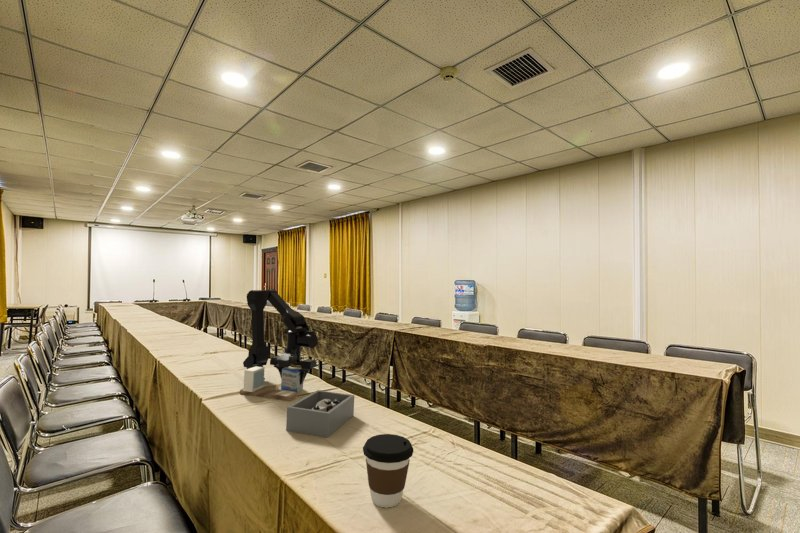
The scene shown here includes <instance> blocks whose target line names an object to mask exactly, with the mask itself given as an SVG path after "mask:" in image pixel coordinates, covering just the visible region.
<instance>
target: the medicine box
mask: <svg viewBox="0 0 800 533" xmlns="http://www.w3.org/2000/svg"><path fill="white" fill-rule="evenodd" d="M301 368H302V367H294V366H293V367H292V366H289V367H285V368H283V369H282V379H281V378H280V380H281V382H280V390H284V391H291V392H301V391H302V390H304V382H303V383H302V384H301V385H300V373H301V372H300V370H299V369H301Z"/></svg>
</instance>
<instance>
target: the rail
mask: <svg viewBox="0 0 800 533" xmlns="http://www.w3.org/2000/svg"><path fill="white" fill-rule="evenodd" d="M243 390H244V387H243V388H242V389H239V394H240V395H247V396H252V397H260V398H266V399H272V400H281V401H285V402H286V401H287V402H290V401H292V400H294V399H296V398H297V397H299V393H298V392H299V391H298V392H296V391H288V390H282V389H274V388H269V387H263V388H261V389H258V390H256V391H254V392H248V391H243Z"/></svg>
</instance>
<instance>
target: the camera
mask: <svg viewBox="0 0 800 533" xmlns="http://www.w3.org/2000/svg"><path fill="white" fill-rule="evenodd" d="M342 401H343V400H342V399H335V400H333V402H331V400H329V399H323V400H321V401H319V402H317V404H316V406H314V407H313V408H312V409H311V410H318V411H324V412H328V411H329V410H331V409H332V408H334V407H335V406H336V405H338V404H339V403H341V402H342Z"/></svg>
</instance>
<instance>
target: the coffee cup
mask: <svg viewBox="0 0 800 533" xmlns="http://www.w3.org/2000/svg"><path fill="white" fill-rule="evenodd" d="M362 452H363V455H364V457H366V458H365V463H366V465H365V466H366V471H367V472H366V473H367V481H368V482H367V483H368V486H369V493H370V498H371V502H372V503H373V504H374V505H375V504H376V505H377V506H376V505H375V506H376V507H379V506H380V507H379V508H382V507H385V508H384V509H389V508H388V507H392V508H394V507H393V506H395V507H397V506H398V505H399V504H400V502H401V501H402V498H403V493H404V489H405V486H406V483H407V482H406V481H407V477H408V476H407V475H408V471H409V466H410V462H411V461H410V458H411V457H412V456H413V455H414V447H413V446H412V442H411V441H410V440H409V439H408V438H406V437H404V436H401V435H398V434H393V433H392V434H391V433H384V434H383V433H381V434H377V435H373V436H371V437H370V438H368V439H366V442H365V444H364V445H363V447H362ZM398 503H399V504H398ZM397 504H398V505H397ZM396 505H397V506H396Z"/></svg>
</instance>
